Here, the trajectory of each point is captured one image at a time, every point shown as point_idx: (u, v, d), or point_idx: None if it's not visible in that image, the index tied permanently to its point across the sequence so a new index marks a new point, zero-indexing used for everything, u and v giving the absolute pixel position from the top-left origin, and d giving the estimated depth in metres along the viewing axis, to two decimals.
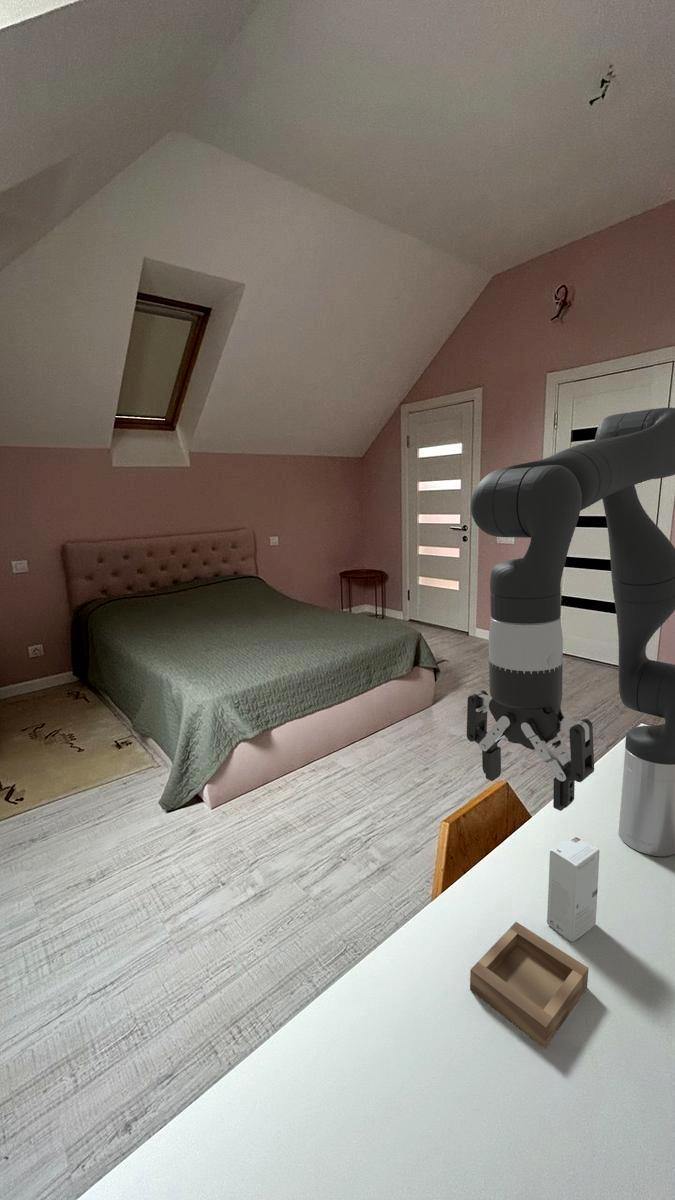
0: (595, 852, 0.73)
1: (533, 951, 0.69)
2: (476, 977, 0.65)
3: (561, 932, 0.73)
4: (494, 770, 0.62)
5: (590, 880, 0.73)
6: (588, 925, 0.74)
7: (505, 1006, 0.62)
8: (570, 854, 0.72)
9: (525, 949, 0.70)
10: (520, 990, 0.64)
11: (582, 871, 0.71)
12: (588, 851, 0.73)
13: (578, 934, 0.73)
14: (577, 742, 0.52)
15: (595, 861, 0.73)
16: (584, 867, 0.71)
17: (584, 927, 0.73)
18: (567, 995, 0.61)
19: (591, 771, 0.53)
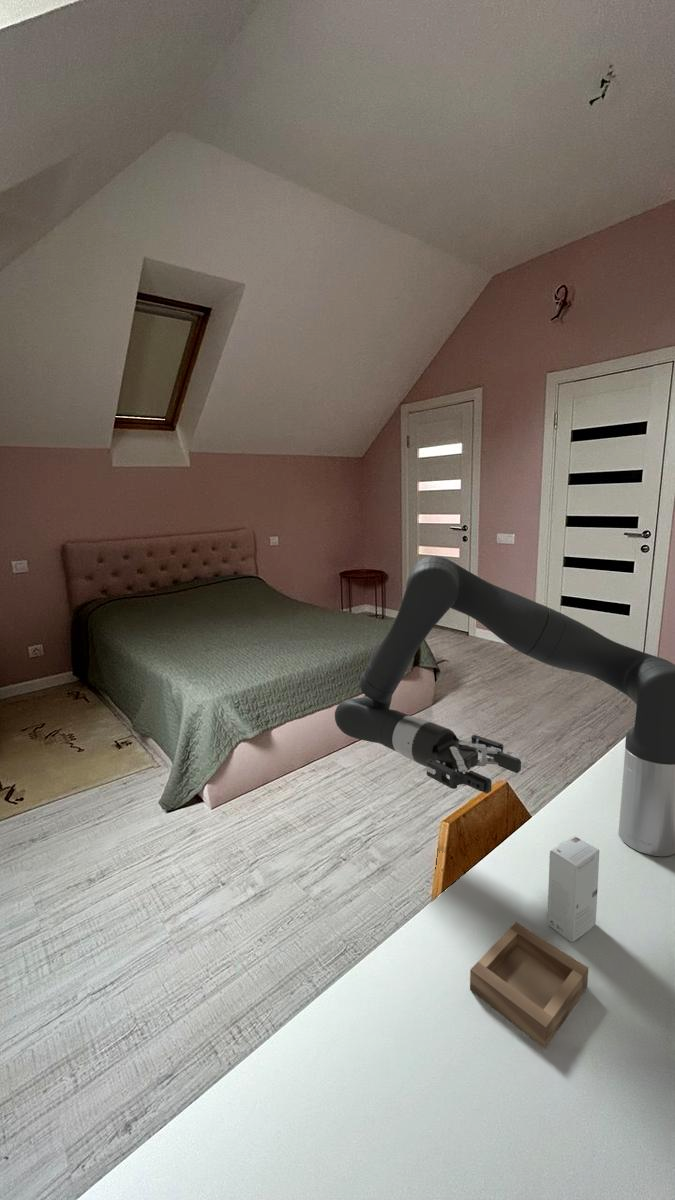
0: (595, 852, 0.73)
1: (533, 951, 0.69)
2: (476, 977, 0.65)
3: (561, 932, 0.73)
4: (511, 766, 0.84)
5: (590, 880, 0.73)
6: (588, 925, 0.74)
7: (505, 1006, 0.62)
8: (570, 854, 0.72)
9: (525, 949, 0.70)
10: (520, 990, 0.64)
11: (582, 871, 0.71)
12: (588, 851, 0.73)
13: (578, 934, 0.73)
14: None
15: (595, 861, 0.73)
16: (584, 867, 0.71)
17: (584, 927, 0.73)
18: (567, 995, 0.61)
19: (451, 777, 0.79)
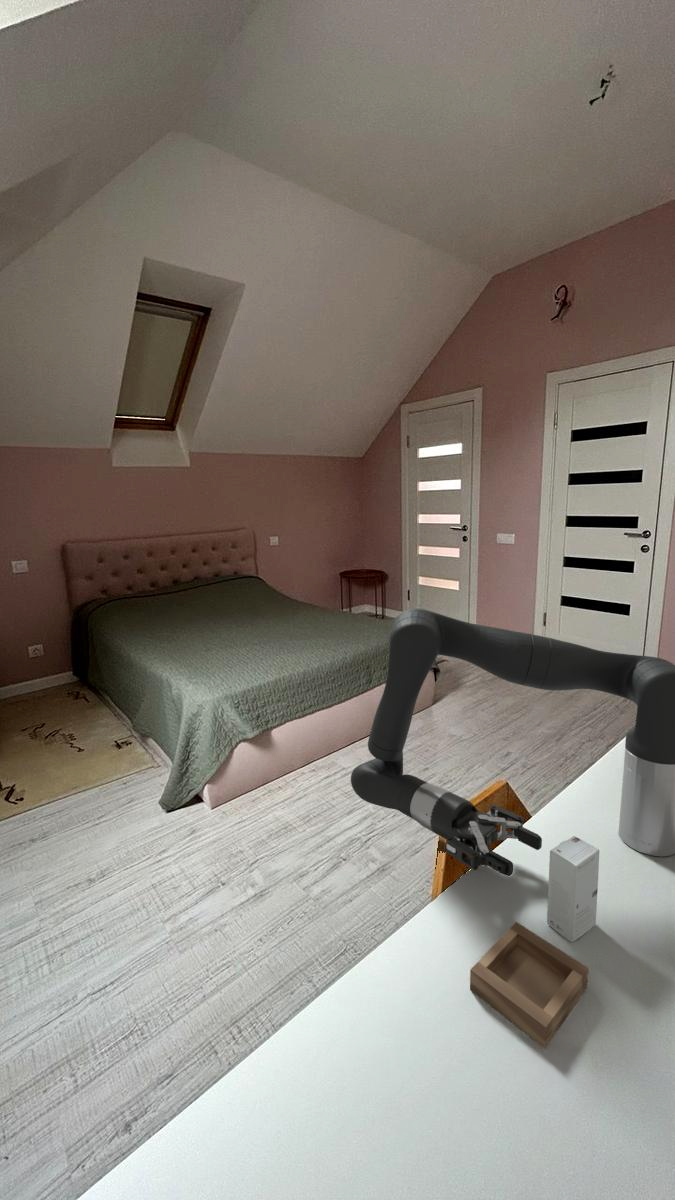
0: (595, 852, 0.73)
1: (533, 951, 0.69)
2: (476, 977, 0.65)
3: (561, 932, 0.73)
4: (532, 842, 0.83)
5: (590, 880, 0.73)
6: (588, 925, 0.74)
7: (505, 1006, 0.62)
8: (570, 854, 0.72)
9: (525, 949, 0.70)
10: (520, 990, 0.64)
11: (582, 871, 0.71)
12: (588, 851, 0.73)
13: (578, 934, 0.73)
14: None
15: (595, 861, 0.73)
16: (584, 867, 0.71)
17: (584, 927, 0.73)
18: (567, 995, 0.61)
19: (472, 858, 0.79)
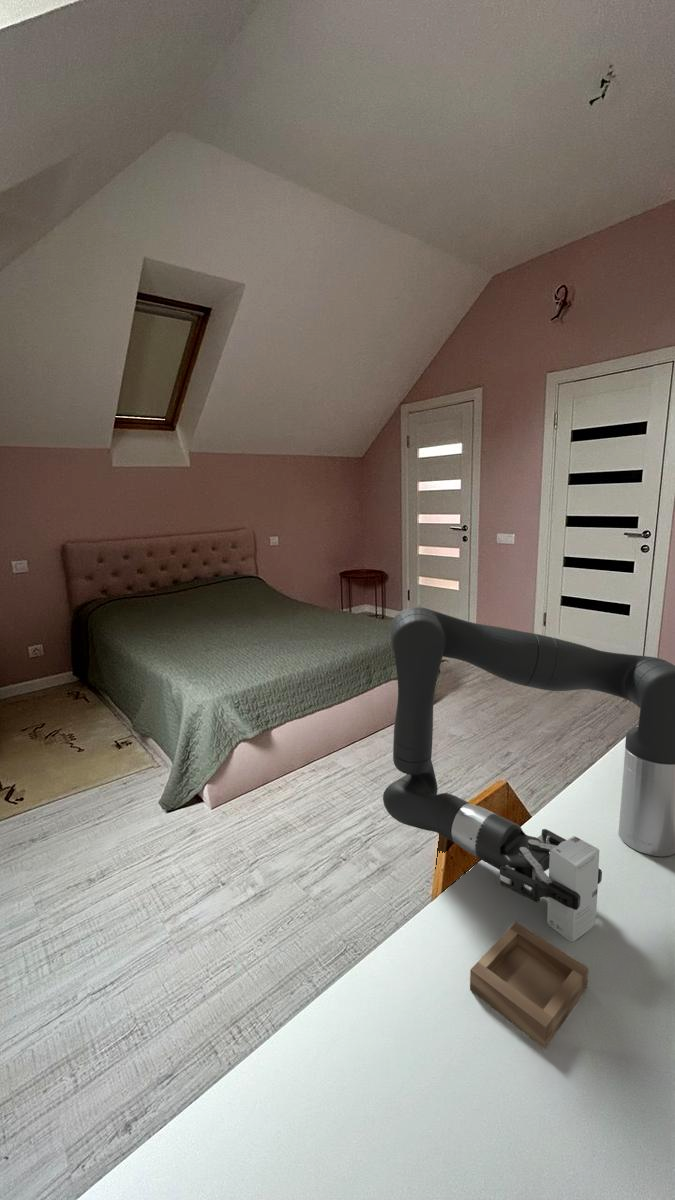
0: (595, 852, 0.73)
1: (533, 951, 0.69)
2: (476, 977, 0.65)
3: (561, 932, 0.73)
4: None
5: (590, 880, 0.73)
6: (588, 925, 0.74)
7: (505, 1006, 0.62)
8: (570, 854, 0.72)
9: (525, 949, 0.70)
10: (520, 990, 0.64)
11: (581, 871, 0.71)
12: (588, 851, 0.73)
13: (578, 934, 0.73)
14: None
15: (595, 861, 0.73)
16: (584, 867, 0.71)
17: (584, 927, 0.73)
18: (567, 995, 0.61)
19: (534, 890, 0.72)
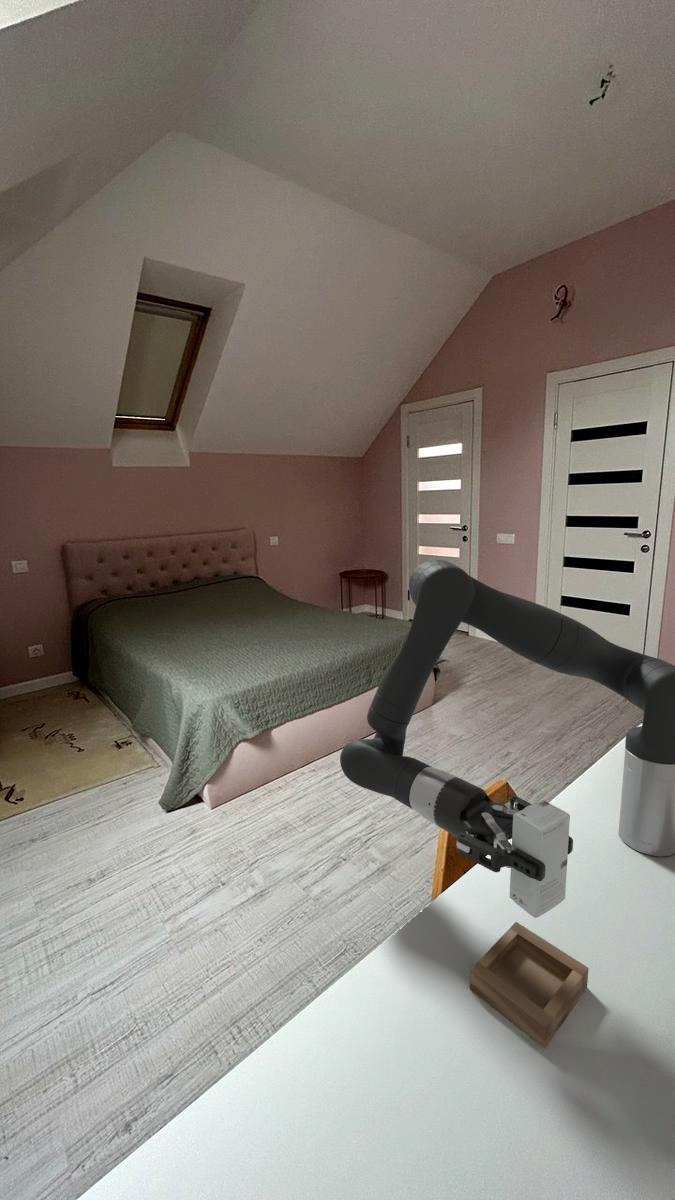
0: (565, 817, 0.64)
1: (533, 951, 0.69)
2: (476, 977, 0.65)
3: (524, 907, 0.64)
4: None
5: (558, 848, 0.64)
6: (555, 900, 0.65)
7: (505, 1006, 0.62)
8: (536, 818, 0.63)
9: (525, 949, 0.70)
10: (520, 990, 0.64)
11: (548, 837, 0.62)
12: (557, 816, 0.64)
13: (544, 910, 0.64)
14: None
15: (564, 827, 0.64)
16: (550, 833, 0.62)
17: (550, 902, 0.64)
18: (567, 995, 0.61)
19: (493, 858, 0.63)
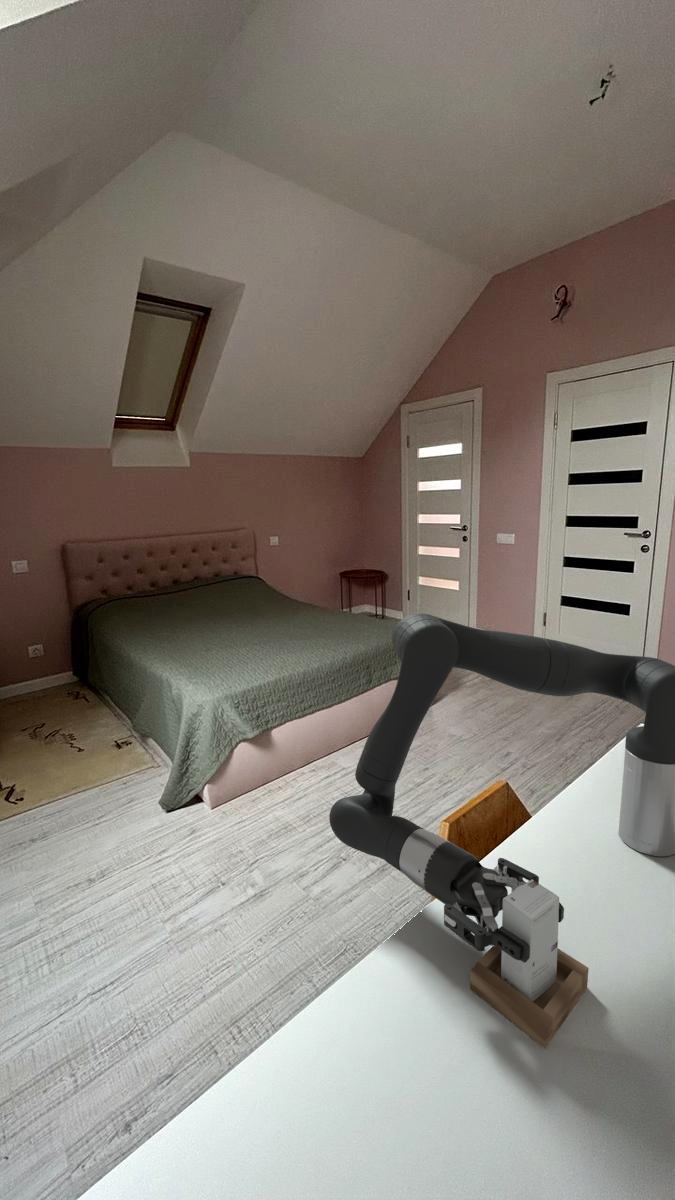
0: (554, 900, 0.63)
1: None
2: (476, 977, 0.65)
3: None
4: None
5: (549, 932, 0.63)
6: (547, 983, 0.64)
7: (505, 1006, 0.62)
8: (526, 903, 0.63)
9: None
10: None
11: (538, 924, 0.62)
12: (546, 900, 0.63)
13: (535, 995, 0.63)
14: None
15: (554, 911, 0.63)
16: (541, 919, 0.62)
17: (542, 987, 0.63)
18: (567, 995, 0.61)
19: (477, 937, 0.62)
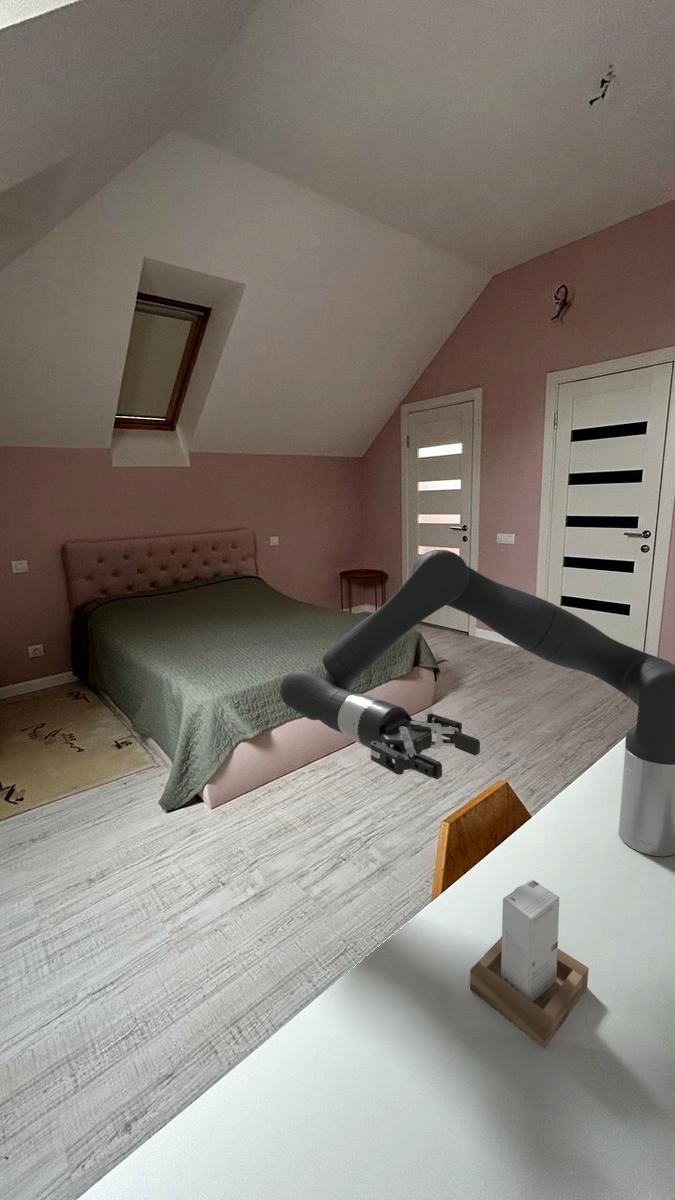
0: (554, 900, 0.63)
1: None
2: (476, 977, 0.65)
3: None
4: (469, 747, 0.72)
5: (549, 932, 0.63)
6: (547, 984, 0.64)
7: (505, 1006, 0.62)
8: (526, 903, 0.63)
9: None
10: None
11: (538, 924, 0.62)
12: (546, 900, 0.63)
13: (535, 995, 0.63)
14: None
15: (554, 911, 0.63)
16: (541, 919, 0.62)
17: (542, 987, 0.63)
18: (567, 995, 0.61)
19: (396, 761, 0.68)
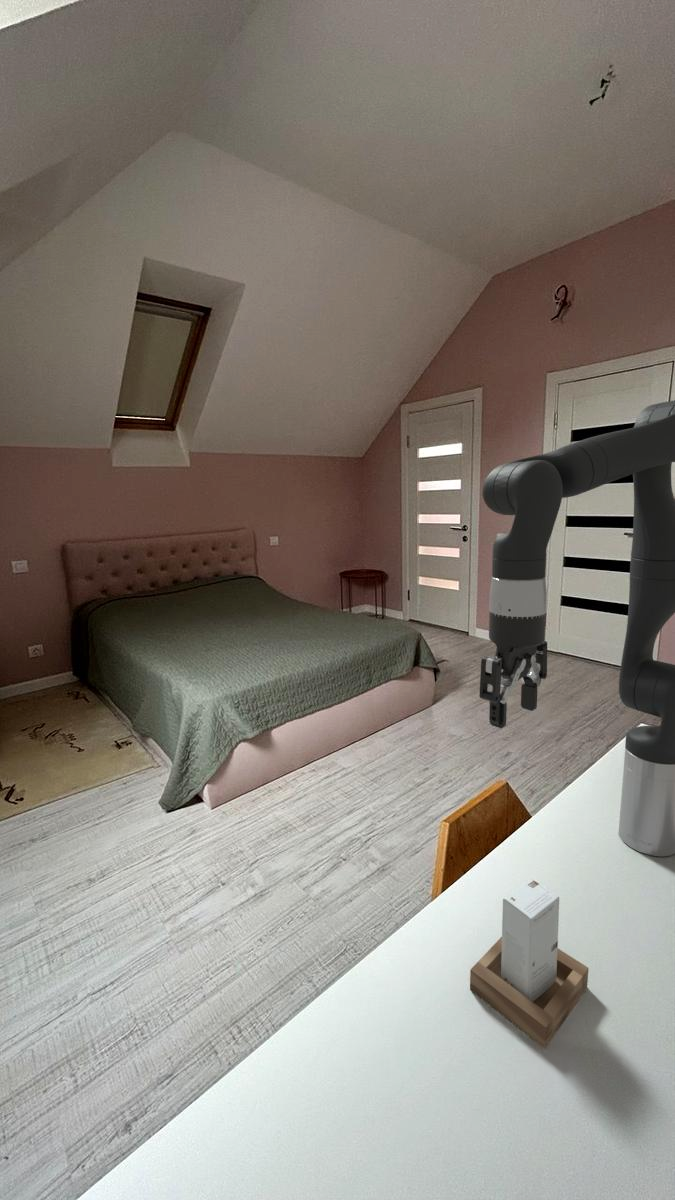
0: (554, 900, 0.63)
1: None
2: (476, 977, 0.65)
3: None
4: (526, 701, 0.78)
5: (549, 932, 0.63)
6: (547, 984, 0.64)
7: (505, 1006, 0.62)
8: (526, 903, 0.63)
9: None
10: None
11: (538, 924, 0.62)
12: (546, 900, 0.63)
13: (535, 995, 0.63)
14: None
15: (554, 911, 0.63)
16: (541, 919, 0.62)
17: (542, 987, 0.63)
18: (567, 995, 0.61)
19: (491, 698, 0.69)
